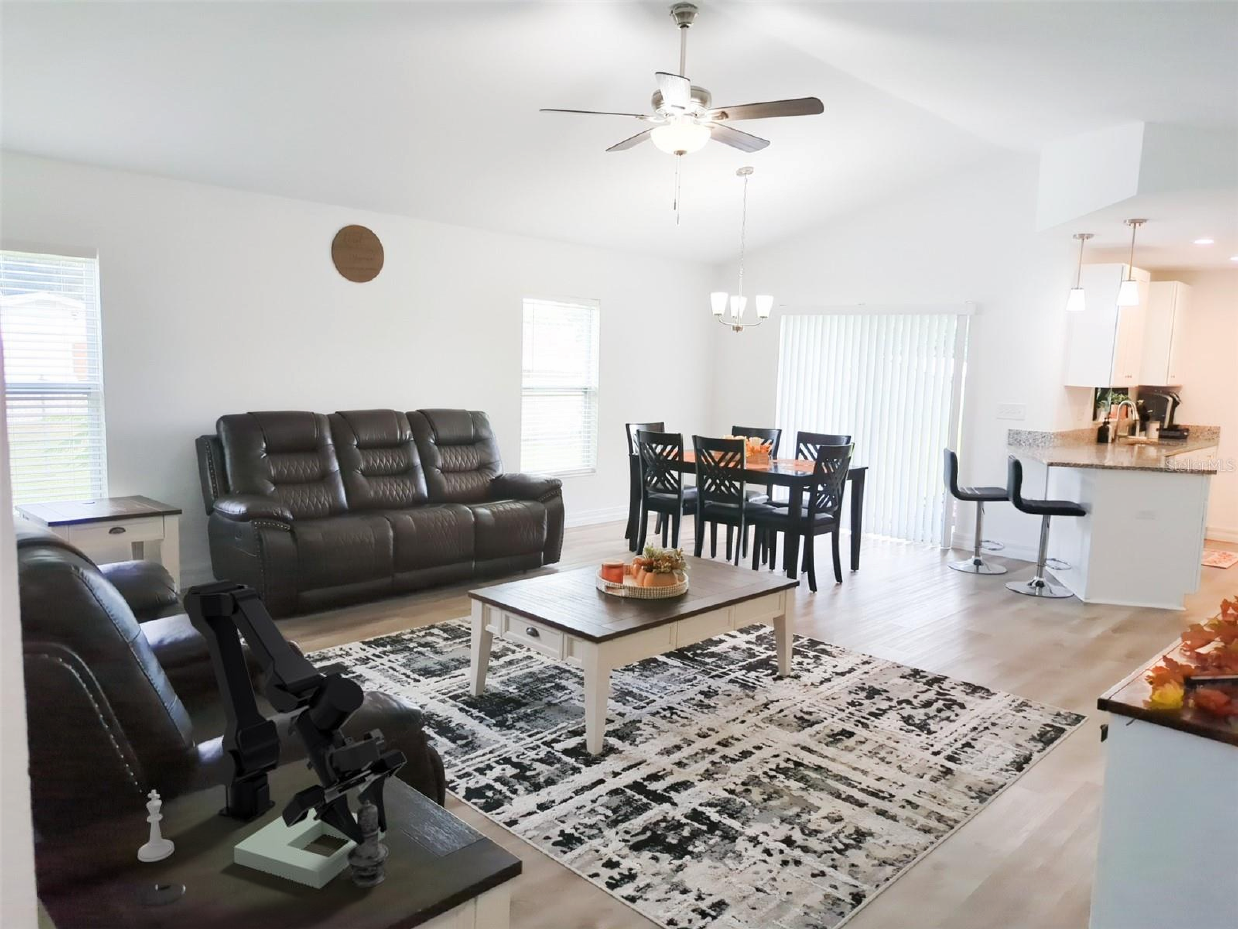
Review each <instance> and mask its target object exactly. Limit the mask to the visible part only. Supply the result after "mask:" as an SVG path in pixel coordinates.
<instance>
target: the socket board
mask: <svg viewBox="0 0 1238 929" xmlns="http://www.w3.org/2000/svg"><path fill="white" fill-rule="evenodd" d="M351 813H352V815H353V817H354V819H355V821H356V823H357V813H354V812H351ZM316 814H317V813H316V811H315V809H314V808H312V809H310V810H309V812H308V815H307V818H306V819H305V820H303V821H301V822H299V823H297V824H295V825H293V826H291V827H287V826H286V824H285V822H284V820H283V818H282V815H281V816H279V817H278V818H277V819H275V820H272V822H270V823H268V824H267V825H265V826H264V827H262V828H261V829H259V830H258V831H255V833H253V834H251V835H250V836H248V837H247V838H245V839H244V840H243V841H241V842H239V843H238V844H236V845H235V846H233V852H234V854H233V856H234V863H235V864H238V865H241V866H245V867H248V868H251V869H254V870H258V871H260V870H261V871H260V872H263V871H265V872H264V873H266V874H270V873H272V874H271V875H273V874H274V875H273V876H276V875H277V876H276V877H279V876H281V877H280V878H283V877H284V878H283V879H286V880H289V879H290V880H289V881H292V880H293V882H295V883H298V884H302V883H303V884H302V885H305V884H306V886H308V885H309V886H310V887H312V886H313V887H312V888H315V889H319V890H320V889H321V888H322V887H324V886H326V885H327V884H328V883H329V882H330V881H331V880H333V879H334V878H335V877H336V876H338V875H339V874H340V873H341V872H342V871H344V870H345V869H346V868H347V867H350V864H349V862H348V860H347V854H348V853H349V851H350V850H351V849H353V848H354V847H356V846H357V843H356V842H354V841H353V840H352V839H350V838H349V837H347V836H346V835H344V834H343V833H342V832H340V831H339V830H337V829H336V828H334V827H332V826H330V825H328V824H327V823H325V822H323V821H321V820H317V821H314V820H313V817H314V816H315V815H316ZM325 834H326V836H328V835H330V836H329V837H332V836H333V837H332V838H335V837H336V839H339V838H341V839H340V840H342V839H345V840H344V841H346V840H348V841H347V843H346V844H344V845H343V846H342V847H341V848H339V849H338V850H337V851H335V852H334V853H333V854H331V855H330V856H329V857H328V856H324V855H322V854H319V853H314V852H311V851H308V850H305V848H306V847H308V846H309V845H310V844H312V843H313V842H315V841H317V839H318V838H320V837H321V836H323V835H325ZM385 837H386V831H385V832H384V833H381V832H380V830H379V832H378V841H379V842H380V841H382V839H384V838H385ZM311 842H312V843H311ZM307 845H308V846H307ZM301 849H302V850H301ZM343 869H344V870H343ZM338 873H339V874H338ZM309 886H308V887H309Z"/></svg>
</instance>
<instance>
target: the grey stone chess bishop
mask: <svg viewBox="0 0 1238 929" xmlns="http://www.w3.org/2000/svg"><path fill="white" fill-rule="evenodd" d="M369 802H370V801H369V800H368V799H367V800H366V801H365V803H366V804H364V805H361V806H359V807H358V809H357V812H356V814H357V824H358V826H359V828H360V830H361V832H362V834H363V837H364V840H365V842H364V843H363V844H362V845H359V844H357V846H356V847H354V848H353V849H351V850H350V851H349V853H348V854H347V860H348V862H349V864H350V865H349V867H350V868H351V870H352V872H351V874H350V875H349V877H348V878H349V883H350V884H351V885H352V886H354V887H357V888H363V889H365V888H370V887H371V888H372V887H375V886H377V885H379V884H381V883H382V882H383V881H385V879H386V878H387V870H386V869H385V868H384V866H385V863H386V861H387V857H388V855H389V848H388V847H387V845H385V844H382V843H380V841H378V832H379V830H380V825H379V824H378V814H377V807H376V806H375V805H373V804H369Z"/></svg>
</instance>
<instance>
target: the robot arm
mask: <svg viewBox="0 0 1238 929" xmlns="http://www.w3.org/2000/svg"><path fill="white" fill-rule="evenodd" d="M260 594H261V593H260V592H259V590H258V589H256V588H254V587H249V586H248V584H240V583H239V584H238V583H236V582H235V583H234V581H233V580H231V579H228V578H226V579H221V580H216V581H211V582H207V583H201V584H197V585H192V586H190V587H189V588H188V591H187V593H186V594H185V595H184V597H183V599H182V602H183V605H182V606H183V608H184V611H185V613H186V614H187V616H188V619H189V621H190V624H191V626H192V627H193V628H194V629H195V630H196V631H197V632H198V633H199V634H201V635H202V636H203V638H205V639H206V643H207V647H208V651H209V656H210V659H211V663H212V666H213V667H212V668H213V671H214V675H215V678H216V682H217V686H218V687H217V688H218V690H219V693H220V694H219V695H220V698H221V701H222V705H223V710H224V713H225V717H226V722H227V724H226V727H225V730H224V732H223V733H224V734H223V737H222V739H221V748H222V755H221V757H220V758H219V759H218V761H217V762H216V763H214V766H212V772H213V776H214V780H215V781H216V782H218V783H219V784H222V785H223V786H225V787H224V788H225V806H224V807H222V808H221V809H219V810H218V812H217V813H218V815H220V816H223V817H225V818H230V819H234V820H237V821H241V822H244V823H248V822H251V821H252V820H254V819H255V818H257V817H258V816H260V815H262V814H263V813H265V812H266V811H268V810H270V809H271V808H273V807H274V806H275V805H276V804H277V803H276V801H275V800H274V799H273V800H272V799H271V797H270V796H271V795H270V789H271V788H270V783H269V774H268V773H270V772H271V771H276V770H277V769H278V766H279V762H280V756H281V753H282V747H283V746H282V741H281V738H280V737H279V734H278V731H277V730H278V729H277V723H276V722H275V721H274V720H273V719H267V718H266V717H265V716H264V715H262V713H260V711H259V706H258V704H257V700H256V697H255V696H256V695H255V692H254V689H253V685H252V681H251V676H250V673H249V669H248V666H247V665H248V664H247V661H246V656H245V654H244V649H243V646H242V642H241V638H240V634H241V636H242V638H243V640H244V641H245V643H246V645H247V646H248V647H249V649H250V650H251V652H252V654H253V655H254V657H255V659H256V661H257V662H258V664H259V666H260V667H261V668H262V670H263V672H264V681H263V682H264V684H263V689H264V691H265V693H266V696H267V698H268V702H269V704H270V706H271V707H272V708H273V710H275V711H276V713H279V714H284V715H286V714H289V713H291V712H292V713H293V712H295V711H298V710H300V709H303V708H305V707H307V708H305V709H303V710H302V711H301V712H300V713H299V714H296V715H293V716H291V717H290V720H289V721H290V722H289V725H288V728H287V735H288V736H290V737H291V736H294V735H296V737H297V738H298V740H299V742H300V744H301V747H302V748H303V750H304V752H305V754H306V756H307V758H308V760H309V762H307V764H306V765H305V766H306V767H307V770H308V771H312V770H313V771H314V772H315V773H316V776H317V778H318V779H319V781H320V783H321V785H319V784H313V785H312V786H309V787H307V788H305V789H303V790H300V791H299V792H296V793H295V794H294V795H293V796H292V797H291V798H290V800H288V801H287V803H286V804H285V805H284V806H283V808H282V811H281V816H282V818H283V820H284V822H285V824H286V826H287V827H291V826H293V825H295V824H297V823H299V822H301V821H303V820H305V819H306V818H307V815H308V812H309V810H310V809H312V808H314V809H315V811H316V813H317V814H316V815H315V816H314V817H313V820H314V821H317V820H321V821H323V822H325V823H327V824H328V825H330V826H332V827H334V828H336V829H337V830H339V831H340V832H342V833H343V834H344V835H346V836H347V837H349V838H350V839H352V840H353V841H354V842H356V843H357V844H359V845H362V844H363V843H364V842H365V840H364V837H363V834H362V832H361V830H360V828H359V826H358V824H357V823H356V821H355V819H354V817H353V815H352V813H353V812H351V810H350V807H349V802H348V793H347V792H349V791H352V790H353V789H356V788H358V789H359V791H360V793H359V794H358V795H357V797H356V798H357V800H358V802H359V804H360V805H361V806H362V805H364V804H366V803H365V801H366V800H367V799H368V800H369V801H370V802H369V804H373V805H375V806H376V807H377V814H378V824H379V825H380V832H381V833H384V832H385V833H386V831H387V830H388V827H387V826H388V825H387V820H386V810H385V804H384V792H383V791H384V786H385V782H386V781H387V780H389V779H391V778H392V777H394V775H396V773H397V772H398V771H400V769H401V768H403V766H404V765H405V764H406V763H407V762H408V760H407V758H406V756H405V754H404V753H403V751H401V750H400V749H398V748H393V749H391V750H389V751H387V752H385V753H383V754H380V752H381V751H382V750H385V749H386V748H387V741H386V738H385V736H384V734H383V733H382V732H381V729H380V728H375V729H373V730H369V731H368V732H365V733H363V740H361V741H358V742H355V740H354V739H353V737H351V735H347V736H344V734H343V732H342V730H341V728H342V727H344V726H345V725H346V723H347V722H348V721H349V720H350V719H351V718H352V717H353V715H355V713H356V712H357V711H358V710H359V709H360V708H361V707H362V705H363V703H364V700H365V693H364V690H363V688H362V686H361V685H360V684H358V683H357V682H356V681H354V680H353V679H352V678H348V677H342V675H341V673H340V671H338V670H337V671H334V672H332V673H329V674H327V675H326V676H325V675H323V674H321V673H320V672H319V671H318V669H317V668H316V667H315V666H314V665H313V663H312V662H311V661H310V660H309V659H307V658H305V657H303V656H301V655H299V654H296V653H295V652H294V650H292V648H291V647H290V645H289V644H288V641H287V640H286V639H285V637H284V636H283V635H282V633H281V631H280V630H279V628H278V627H277V625H276V623H275V622H274V621H273V619H272V617H271V616H270V614H269V613H268V611H267V609H266V607H265V606H264V605H263V603H262V599H261V595H260ZM239 633H240V634H239ZM368 764H369V765H368ZM366 766H367V767H366ZM365 767H366V768H365ZM363 768H364V769H363Z"/></svg>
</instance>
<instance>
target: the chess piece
mask: <svg viewBox="0 0 1238 929" xmlns="http://www.w3.org/2000/svg"><path fill="white" fill-rule="evenodd" d="M147 798H150V799H151V800H150V801H148V802H147V803H146V809H147V810H148V812H149V814H150V815H148V816H147V818H146V821H147V822H148V823H151V824H150V835H149V841H148V842H147V843H145V844H144V845H142V846H141V847H140V848H139V849H138V851H137V859H138V860H139V861H142V862H144V863H145V862H146V863H147V862H157V861H160V860H163V859H166V858H167V857H170V856H171V854H173V852H174V851H175V845H174V842H173V841H172V840H169V839H164V838H162V833H161V828H160V823H159V822H160V821H161V820H162V819H163V817H164V816H163V814H162V813H159V812H160V810H161V807H162V803H163V802H162V800H161V799H159V798H161V796H160V794H158V793H157V790H156V789H152V790H151V793H150V792H149V793H148V794H147Z"/></svg>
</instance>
